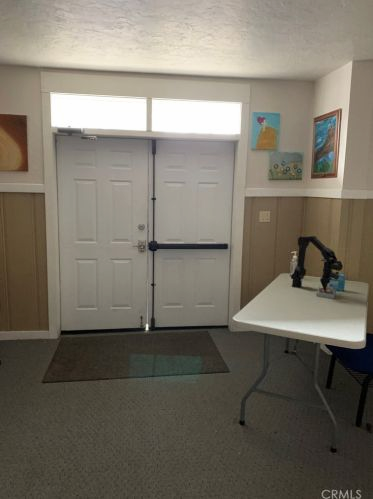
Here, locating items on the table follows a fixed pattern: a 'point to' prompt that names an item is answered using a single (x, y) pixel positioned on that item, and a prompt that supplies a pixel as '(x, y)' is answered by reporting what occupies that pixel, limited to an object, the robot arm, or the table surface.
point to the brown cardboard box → (326, 289)
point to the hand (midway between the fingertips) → (325, 289)
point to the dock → (326, 294)
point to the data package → (338, 283)
